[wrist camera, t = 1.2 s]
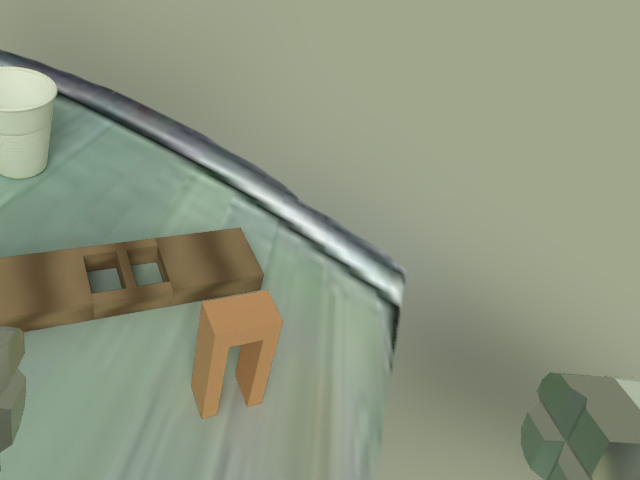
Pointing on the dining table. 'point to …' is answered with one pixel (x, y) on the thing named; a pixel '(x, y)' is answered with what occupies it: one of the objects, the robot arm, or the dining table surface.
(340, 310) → the dining table surface
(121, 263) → the rail
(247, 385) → the clip
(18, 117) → the cup
